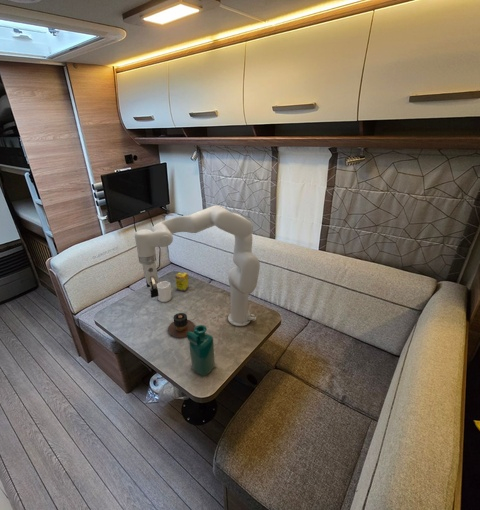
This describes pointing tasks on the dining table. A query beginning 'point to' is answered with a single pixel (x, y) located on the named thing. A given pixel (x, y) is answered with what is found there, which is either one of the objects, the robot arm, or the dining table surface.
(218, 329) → the dining table surface
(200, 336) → the green bottle
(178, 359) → the dining table surface
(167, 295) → the mug
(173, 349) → the dining table surface
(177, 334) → the stand
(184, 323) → the tape roll
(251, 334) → the dining table surface
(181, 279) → the supplement box
